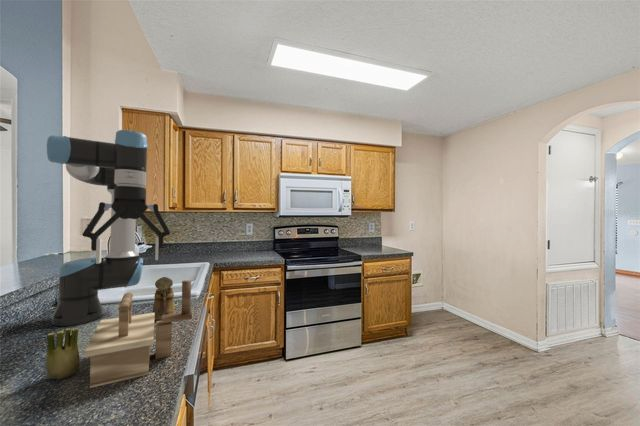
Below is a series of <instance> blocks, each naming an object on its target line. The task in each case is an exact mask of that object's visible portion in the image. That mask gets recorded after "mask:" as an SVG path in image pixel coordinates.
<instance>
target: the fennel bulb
mask: <svg viewBox="0 0 640 426" xmlns="http://www.w3.org/2000/svg"><path fill="white" fill-rule="evenodd" d="M54 334H55V333H54V332H50V333H48V334H47V335H46V338H47V339H46V340H47V346H46V347H47V350H46V358H45V369H46V372H47V374H48V376H49V379H51V380H52V379H53V380H64V379H67V378H70V377H71V376H73V375H74V374H75V373H76V372H77V370H78V369H79V367H80V361H81V360H80V351H79V345H78V339H79V338H78V336H79V328H76V327H75V328H65V331H64V330H60V331H57V332H56V340H55V335H54ZM64 334H65V335H64ZM55 341H56V342H55Z"/></svg>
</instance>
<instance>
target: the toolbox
mask: <svg viewBox="0 0 640 426" xmlns="http://www.w3.org/2000/svg"><path fill="white" fill-rule="evenodd" d="M155 321H156V323H155V359H156V360H158V359H162V358H166V357H167V358H168V357H172V338H173V337H172V335H173V334H172V333H173V331H172V330H173V328H172V327H173V322H169V323H163V324H162V320H155ZM150 354H151V345H148V346H143V347H138V348H132V349H127V350H122V351H116V352H111V353H106V354H101V355H95V356H90V363H89V365H90V368H89V388H90V389H91V388H95V387H100V386H105V385H108V384H114V383H118V382H122V381H126V380H130V379H134V378H135V379H136V378H138V377H144V376H148V375H149V371H150V358H151V357H150V356H151V355H150Z"/></svg>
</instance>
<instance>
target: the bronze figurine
mask: <svg viewBox="0 0 640 426" xmlns="http://www.w3.org/2000/svg"><path fill="white" fill-rule="evenodd" d="M173 284H174V281H173V279H172V278H169V277H167V276H166V277H165V276H163V277H161V278H159V279H157V280H156V281H155V283H154V286H155V288H156V289H155V293H154V295H153V296H154V301H153V306H152V312H151V313H155V320H154V321H162V315H167V314H174V313H176V307H174V303H175V301H174V297H175V292H174V291H173V288H172V287H173Z"/></svg>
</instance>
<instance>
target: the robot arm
mask: <svg viewBox="0 0 640 426" xmlns="http://www.w3.org/2000/svg"><path fill="white" fill-rule="evenodd" d="M148 147H149V144H148V137H147V135H146V134H144V133H143V132H141V131H140V132H139V131H135V130H129V129H118V131H116V132H115V139H114V143H113V142H106V141H105V142H104V141H98V140H91V139H83V138H77V137H69V136H66V135H49V136H48V138H47V140H46V154H47V155H46V156H47V159H48V161H49V162H51V163H56V164H60V165H64V164H65V168H66V169H65V170H66V171H67V173H68V174H69V175H70V176H71V177H72V178H74V179H76V180H78V181H80V182H83V183H86V184H90V185H95V186H102V187H103V186H105V187H106V189H107V192H108V193H109V194H110V195H111V199H110V200H111V201H110V202H111V203H106V202H99V204H98V209H97V211H96V213H95V215H94V216H93V217H92V219H91V220H90V222H89V223H88V224H87V226H86V227H85V229H84V231H83V232H82V236H83V237H84V238H89V239H90V240H91V242H90V245H91V247H90V249H91V251H92V252H94V251H95V256H94V257H87V258H86V257H85V258H80V259H79V258H78V259H75V260H71V261H66V262H64V263H63V264H61V266H60V268H59V275H58V278H59V283H58V286H59V288H58V289H59V290H58V302H57V305H56V308H55V310H54V312H53V315H52V317H51V325H53V326H56V327H66V326H67V327H70V326H76V325H81V324H86V323H89V322H92V321H95V320H98V319H100V318H102V317H103V315H104V309H103V306H102V304H101V301H100V299H99V291H101V290H109V289H116V288H118V289H119V288H127V287H132V286H133V287H134V286H137V285H138V284H140V283H139V282H140V281H141V277H142V272H143V267H144V266H143V263H144V259H143V258H142V257H140V254H139V253H138V252H137V251H136V224H137V221H136V220H137V219H141V220H142V221H143V222H144V223H145V224H146V225H147V226H148V227H149V228H150V229H151V230H152V232H153V233H154V234H156V235H157V236H156V237H155V249H154V250H155V252H154V253H155V255H154V256H155V259H154V260H155V261H158V260H159V249H163V248H164V247H163V246H164V237H167V236H170V235H171V231H170V230H169V228H168V226H167V224H166V223H165V221H164V220H165V219H163V216H162V215H161V213H160V212H159V205H158V204H157V203H154V204H147V189H146V186H147V159H148ZM110 208H111V209H110ZM148 209H149V210H150V211H151V212H153V214H154V215H155V217H156V219H157V220H158V222H159V224H160V226H161V228H162V229H163V231H161V230H160V229H159V228H158V227H157V226H156V225H155V224H154V223H153V222H152V221H151V220H150V219H149V218H148V217H147V215H145V212H146V211H147V210H148ZM109 210H111V212H110V218H109V219H108V220H107V221H106V222H105V223H103V224H102V225H101V226H100V227H99V228H98V229H97V230H96V231H95V232H93V231H94V229H95V228H96V226H97V224H98V223H99V222H100V220H101V219H102V217H103V215H104V214H105V212H107V211H109ZM109 228H110V242H109V243H110V245H109V246H110V247H109V248H110V251H109V253H108V254H106V255H105V260H102V242H103V241H102V239H103V238H99V237H100V236H101V235H102V234H103V233H104V232H105V231H107V230H108V229H109Z"/></svg>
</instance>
